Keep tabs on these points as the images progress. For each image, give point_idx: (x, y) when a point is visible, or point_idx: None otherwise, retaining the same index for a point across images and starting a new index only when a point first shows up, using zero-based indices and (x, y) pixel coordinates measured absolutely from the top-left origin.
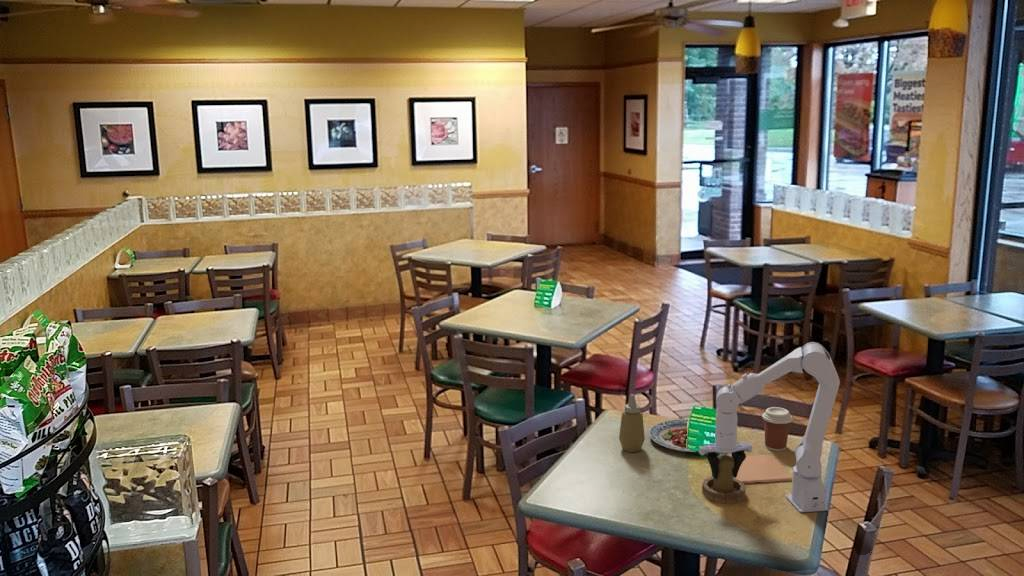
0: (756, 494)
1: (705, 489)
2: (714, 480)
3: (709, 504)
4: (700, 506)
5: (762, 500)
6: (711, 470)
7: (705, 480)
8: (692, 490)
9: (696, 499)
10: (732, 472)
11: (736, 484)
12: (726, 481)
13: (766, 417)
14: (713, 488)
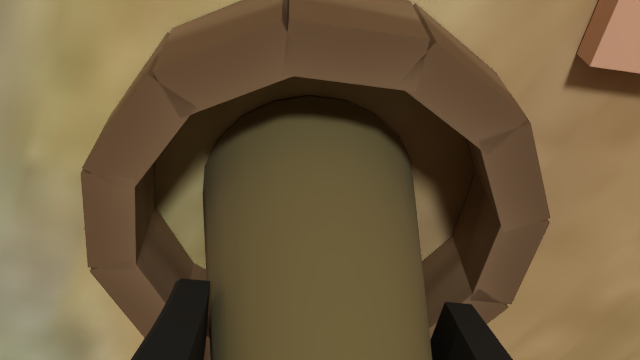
0: (576, 260)
1: (90, 257)
2: (214, 248)
3: (110, 306)
4: (24, 315)
5: (543, 336)
6: (153, 330)
7: (154, 100)
8: (13, 53)
9: (15, 220)
10: (444, 350)
11: (488, 192)
12: None
13: None
14: (206, 209)
